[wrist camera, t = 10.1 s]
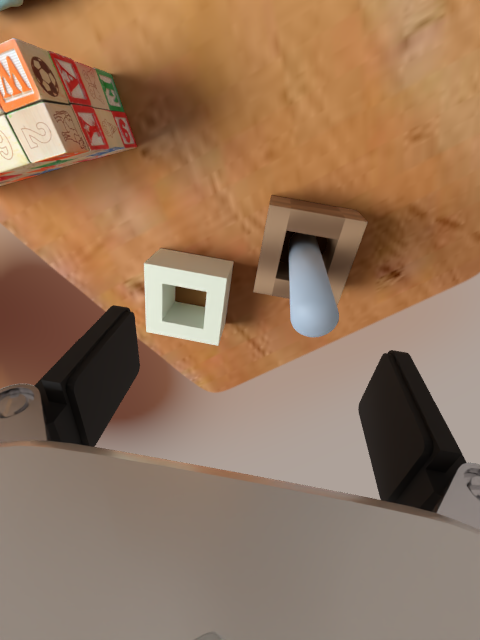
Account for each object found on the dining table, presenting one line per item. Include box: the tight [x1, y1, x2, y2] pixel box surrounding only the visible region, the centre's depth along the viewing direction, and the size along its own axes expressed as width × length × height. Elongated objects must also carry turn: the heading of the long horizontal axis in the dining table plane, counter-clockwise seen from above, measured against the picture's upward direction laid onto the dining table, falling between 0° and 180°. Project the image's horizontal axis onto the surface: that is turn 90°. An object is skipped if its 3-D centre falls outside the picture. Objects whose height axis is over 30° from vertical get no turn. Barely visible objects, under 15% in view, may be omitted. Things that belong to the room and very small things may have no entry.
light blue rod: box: [288, 232, 339, 337], centre depth 27 cm, size 3×3×16 cm
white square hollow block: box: [144, 248, 234, 345], centre depth 37 cm, size 9×9×5 cm
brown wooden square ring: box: [253, 195, 368, 305], centre depth 32 cm, size 9×9×5 cm
